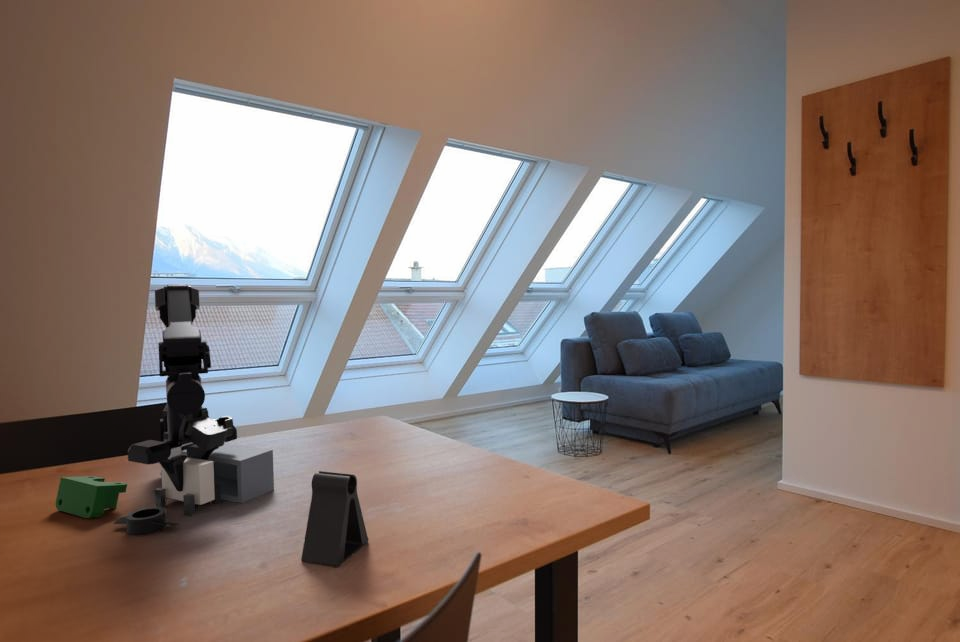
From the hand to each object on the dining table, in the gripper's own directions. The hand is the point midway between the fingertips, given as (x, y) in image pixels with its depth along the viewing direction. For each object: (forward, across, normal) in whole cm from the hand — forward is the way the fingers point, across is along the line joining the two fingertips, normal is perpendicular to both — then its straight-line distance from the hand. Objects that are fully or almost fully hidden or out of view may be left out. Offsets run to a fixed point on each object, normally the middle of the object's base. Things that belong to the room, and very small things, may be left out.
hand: (187, 488), depth 109 cm
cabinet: (+3, +9, 0) cm, 10 cm away
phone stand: (+4, -4, -37) cm, 37 cm away
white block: (+2, 0, 0) cm, 2 cm away
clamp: (+4, -8, +14) cm, 17 cm away
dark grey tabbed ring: (+4, -10, -3) cm, 11 cm away
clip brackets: (+3, 0, 0) cm, 3 cm away
